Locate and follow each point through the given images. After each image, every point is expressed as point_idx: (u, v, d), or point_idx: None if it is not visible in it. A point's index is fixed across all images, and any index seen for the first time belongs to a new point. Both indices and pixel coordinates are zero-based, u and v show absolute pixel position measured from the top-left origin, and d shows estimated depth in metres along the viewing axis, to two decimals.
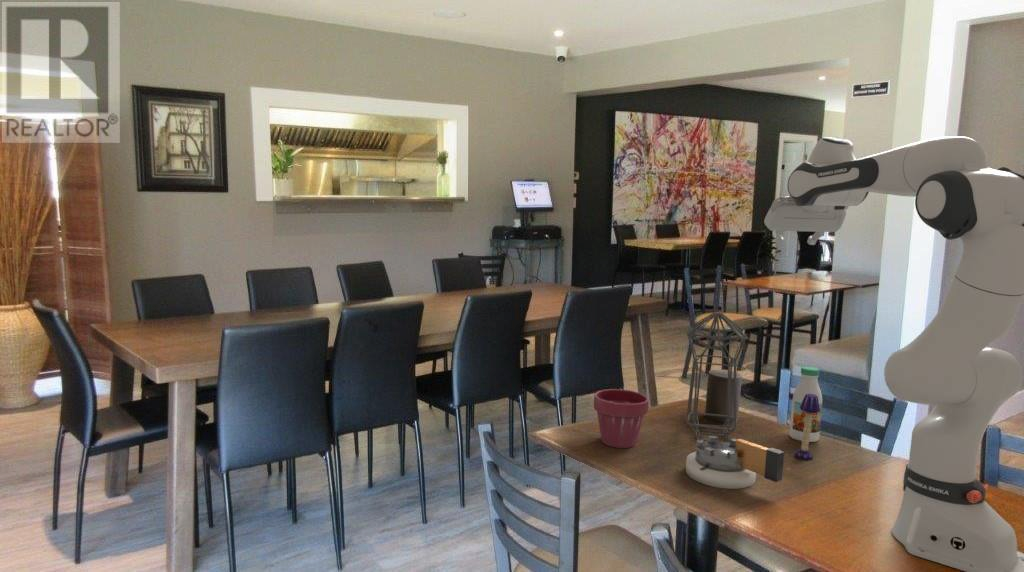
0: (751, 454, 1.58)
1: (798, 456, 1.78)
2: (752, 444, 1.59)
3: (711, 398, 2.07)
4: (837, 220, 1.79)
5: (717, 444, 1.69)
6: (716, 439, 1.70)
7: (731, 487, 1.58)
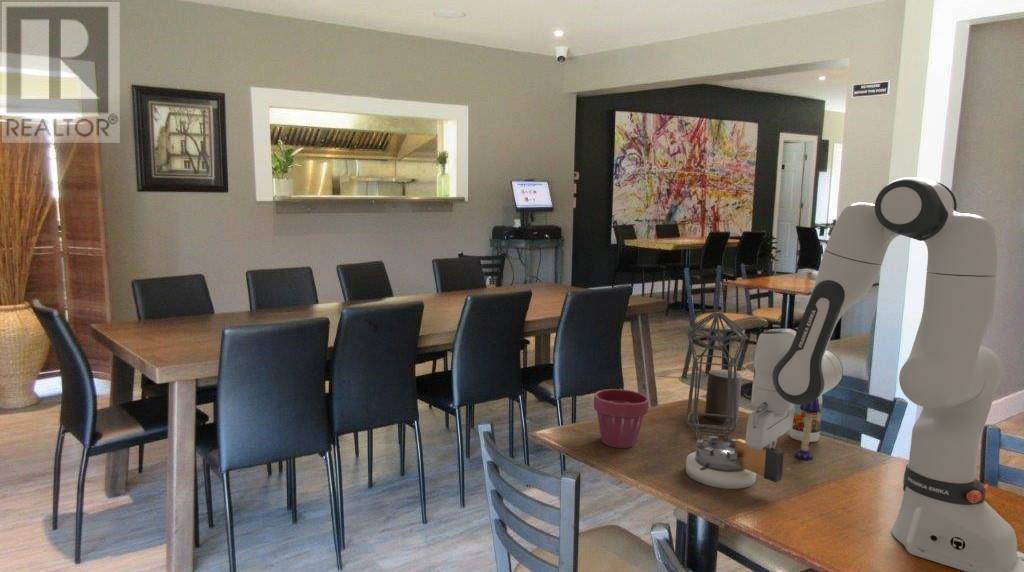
0: (751, 454, 1.58)
1: (798, 456, 1.78)
2: None
3: (711, 398, 2.07)
4: (790, 415, 1.63)
5: (717, 444, 1.69)
6: (716, 439, 1.70)
7: (731, 487, 1.58)
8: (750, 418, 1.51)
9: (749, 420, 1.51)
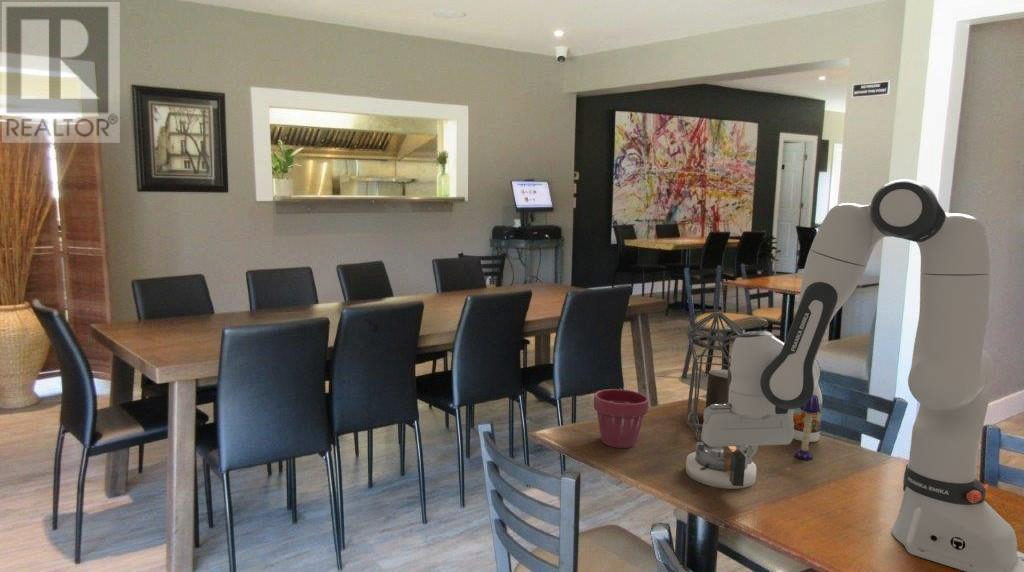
0: (727, 455, 1.57)
1: (798, 456, 1.78)
2: (731, 446, 1.57)
3: (711, 398, 2.07)
4: (786, 428, 1.53)
5: None
6: None
7: (731, 487, 1.58)
8: None
9: None
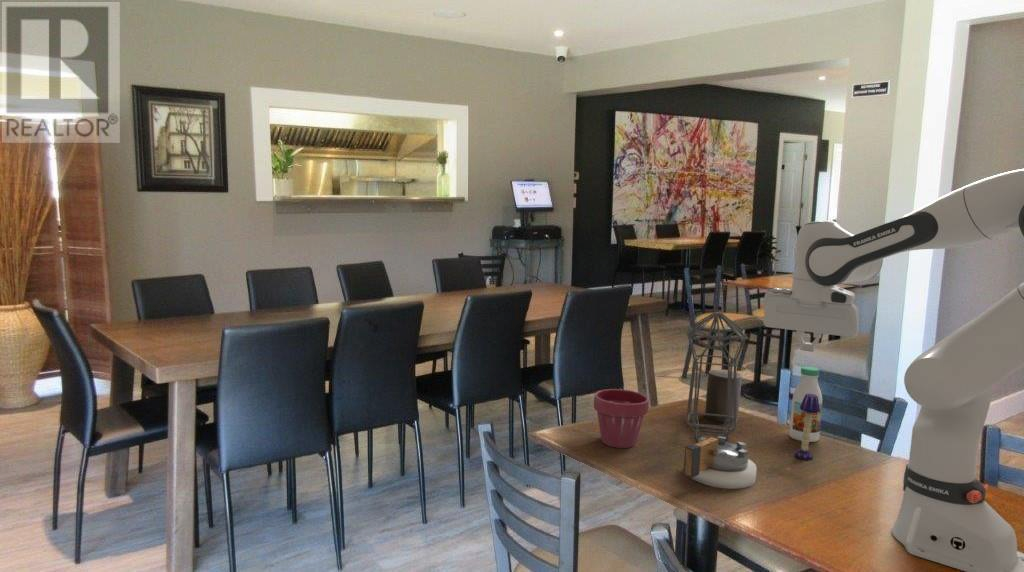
0: None
1: (798, 456, 1.78)
2: (705, 441, 1.59)
3: (711, 398, 2.07)
4: (848, 320, 1.54)
5: (736, 449, 1.66)
6: (740, 445, 1.66)
7: (731, 487, 1.58)
8: None
9: None
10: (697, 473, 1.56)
